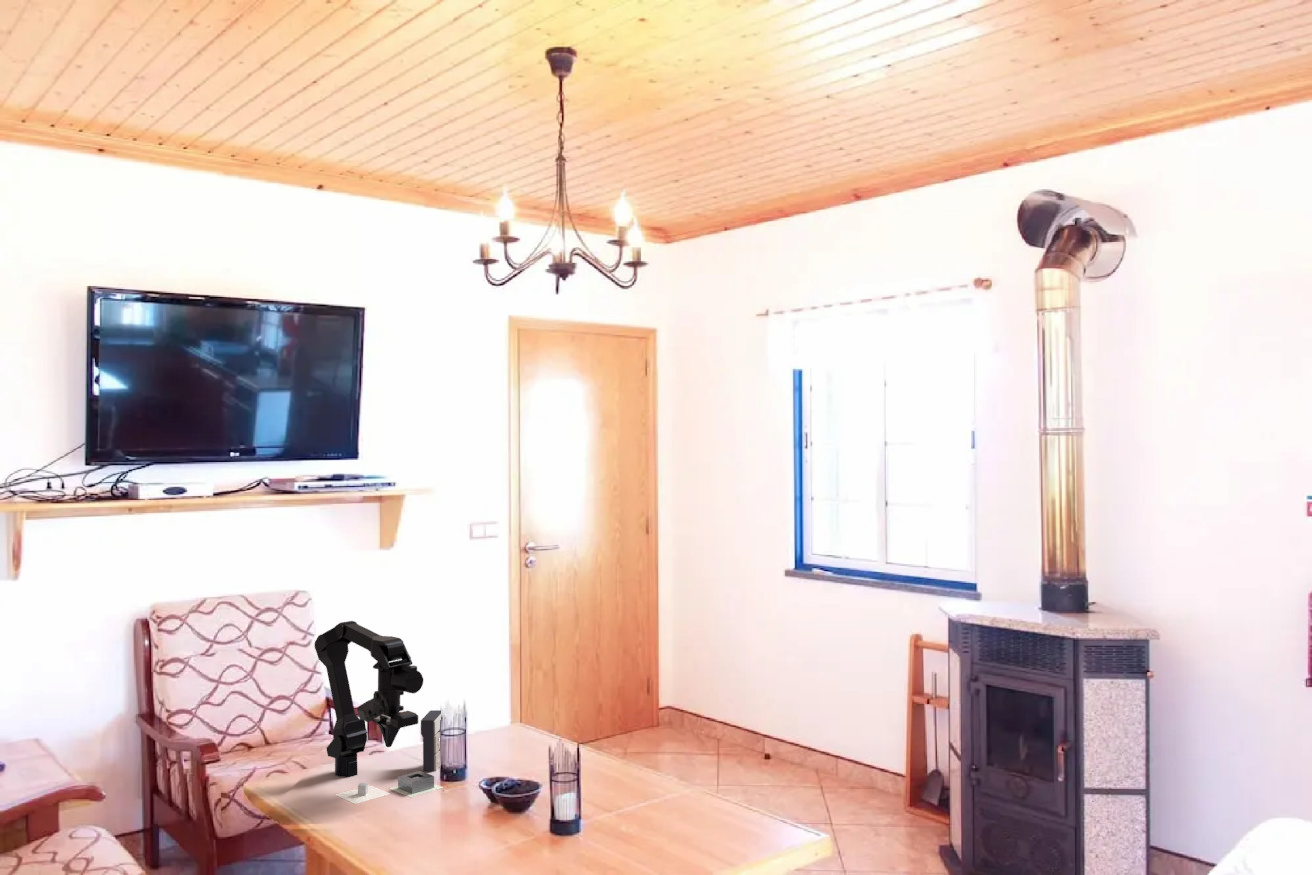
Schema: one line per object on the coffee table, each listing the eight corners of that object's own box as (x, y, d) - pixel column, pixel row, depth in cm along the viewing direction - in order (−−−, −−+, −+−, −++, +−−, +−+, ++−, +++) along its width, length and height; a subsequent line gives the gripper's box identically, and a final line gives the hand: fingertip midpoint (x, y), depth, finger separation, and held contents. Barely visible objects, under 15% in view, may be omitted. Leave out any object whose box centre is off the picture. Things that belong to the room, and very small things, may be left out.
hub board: (389, 792, 263) (389, 778, 263) (422, 782, 270) (422, 769, 270) (410, 801, 256) (410, 787, 256) (443, 791, 263) (443, 777, 263)
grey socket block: (398, 788, 263) (397, 776, 263) (419, 782, 268) (419, 770, 268) (412, 793, 258) (412, 782, 258) (434, 787, 263) (434, 775, 263)
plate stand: (334, 798, 258) (334, 784, 258) (369, 788, 265) (369, 775, 266) (355, 807, 251) (355, 793, 251) (390, 797, 259) (390, 783, 259)
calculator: (436, 775, 277) (436, 720, 277) (420, 775, 277) (420, 720, 277) (445, 762, 288) (445, 709, 288) (430, 762, 288) (430, 709, 288)
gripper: (342, 686, 265) (341, 745, 265) (382, 699, 253) (381, 761, 253) (379, 679, 274) (379, 737, 274) (419, 691, 261) (419, 751, 261)
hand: (388, 746), depth 265 cm, fingers closed
